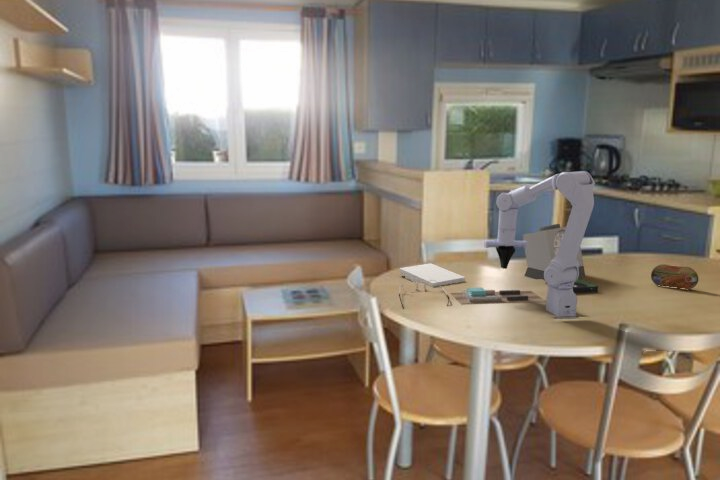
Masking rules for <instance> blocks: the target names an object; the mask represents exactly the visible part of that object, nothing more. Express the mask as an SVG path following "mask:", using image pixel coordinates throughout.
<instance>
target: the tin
mask: <svg viewBox="0 0 720 480" xmlns="http://www.w3.org/2000/svg"><path fill="white" fill-rule="evenodd" d="M698 275H699V274H698V273H697V272H696V271H695V269H693V268H692V267H689V266H683V265H674V264H665V263H661V264H658V265H656V266H654V268H653V269H652V271H651V273H650V278H651V279H650V280H651V281H652V282H653V283H654V284H655V285H656V286H657V285H660V286H669V287H677V288H685V289H689V290H691V289H693V288H695V287H696V286H697V285H698V283H699V276H698ZM660 286H659V287H660Z"/></svg>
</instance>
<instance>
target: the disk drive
mask: <svg viewBox="0 0 720 480" xmlns="http://www.w3.org/2000/svg"><path fill="white" fill-rule="evenodd" d="M545 284H546V285H547V283H546V282H545ZM598 291H599V285H596V284H594V283H592V282H590V281H587V280H584V279H582V278H578V279H577V280H576V281H575V282H574V285H573V292H574V293H575V294H576V295H577V294H588V293H589V294H590V293H598Z"/></svg>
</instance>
